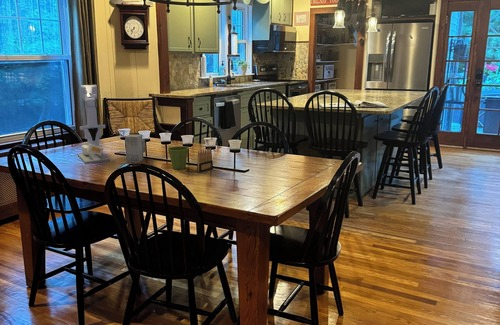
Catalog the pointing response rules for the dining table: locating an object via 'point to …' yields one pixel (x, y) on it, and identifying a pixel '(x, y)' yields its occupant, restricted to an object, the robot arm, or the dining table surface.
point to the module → (95, 149)
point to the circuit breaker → (134, 148)
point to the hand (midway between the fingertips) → (93, 140)
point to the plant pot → (178, 156)
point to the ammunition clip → (204, 161)
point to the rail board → (91, 156)
